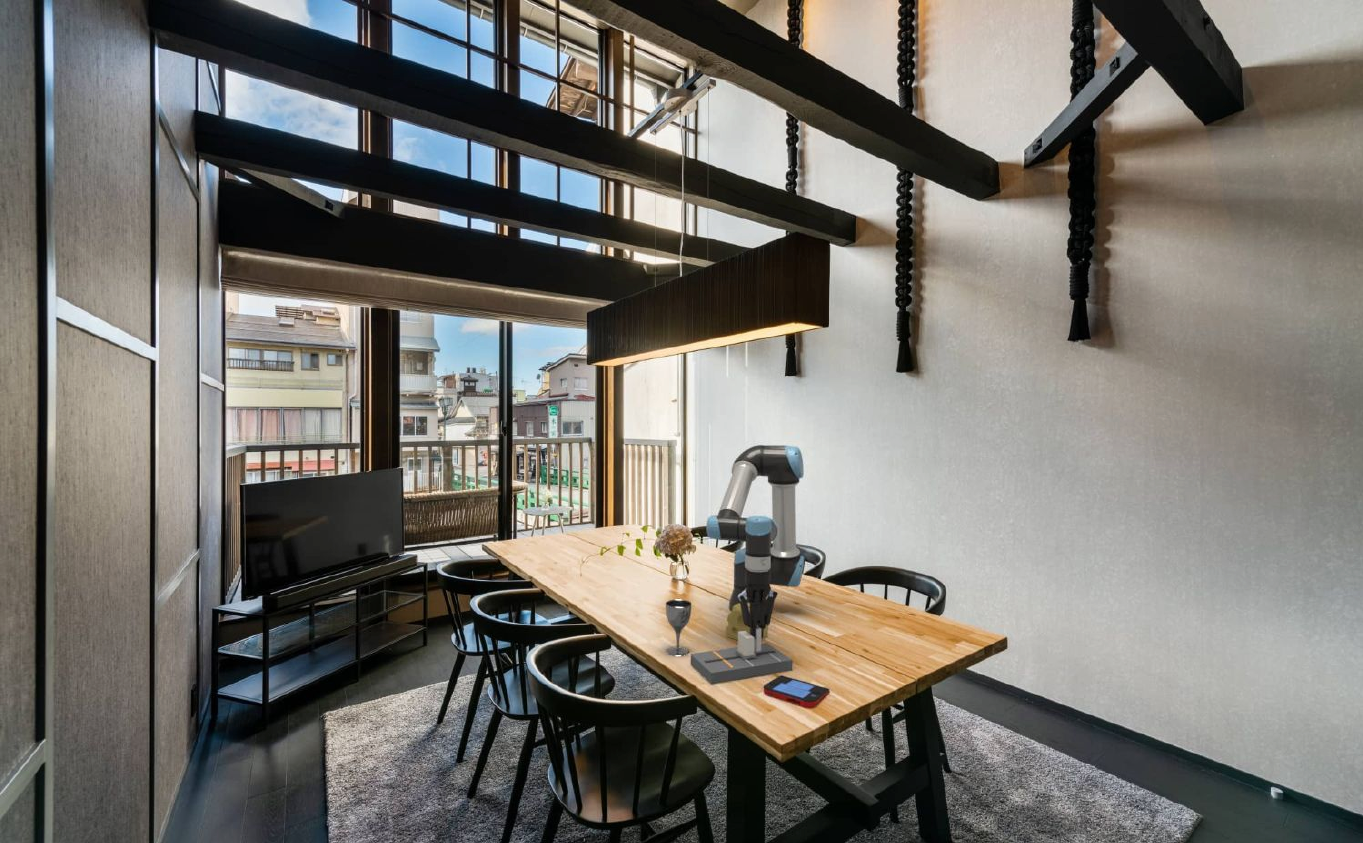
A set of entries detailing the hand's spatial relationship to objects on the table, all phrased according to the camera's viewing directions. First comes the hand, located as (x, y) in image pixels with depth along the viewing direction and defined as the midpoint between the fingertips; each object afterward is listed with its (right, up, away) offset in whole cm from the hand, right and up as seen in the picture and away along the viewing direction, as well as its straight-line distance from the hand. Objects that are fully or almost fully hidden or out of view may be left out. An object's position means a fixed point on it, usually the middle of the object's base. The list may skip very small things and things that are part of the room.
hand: (756, 649), depth 165 cm
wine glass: (-23, -4, +9) cm, 25 cm away
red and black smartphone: (+8, -5, -17) cm, 20 cm away
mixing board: (-5, -4, -2) cm, 7 cm away
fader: (-3, -1, -1) cm, 4 cm away
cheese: (0, -5, +23) cm, 23 cm away
